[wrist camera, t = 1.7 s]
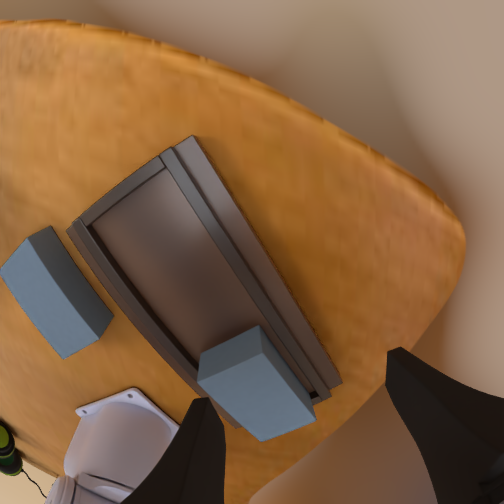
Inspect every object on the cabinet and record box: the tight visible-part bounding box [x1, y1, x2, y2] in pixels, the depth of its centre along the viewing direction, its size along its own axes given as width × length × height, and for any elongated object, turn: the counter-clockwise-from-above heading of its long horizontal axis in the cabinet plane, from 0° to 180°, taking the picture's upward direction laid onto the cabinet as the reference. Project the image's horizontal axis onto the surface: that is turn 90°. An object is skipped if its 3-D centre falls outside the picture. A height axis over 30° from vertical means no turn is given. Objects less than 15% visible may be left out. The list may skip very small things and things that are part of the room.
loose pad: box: [0, 226, 114, 359], centre depth 17 cm, size 5×8×3 cm, turn 30°
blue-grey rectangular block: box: [197, 325, 317, 442], centre depth 19 cm, size 5×8×3 cm, turn 30°
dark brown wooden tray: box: [66, 135, 343, 431], centre depth 19 cm, size 10×21×2 cm, turn 30°
